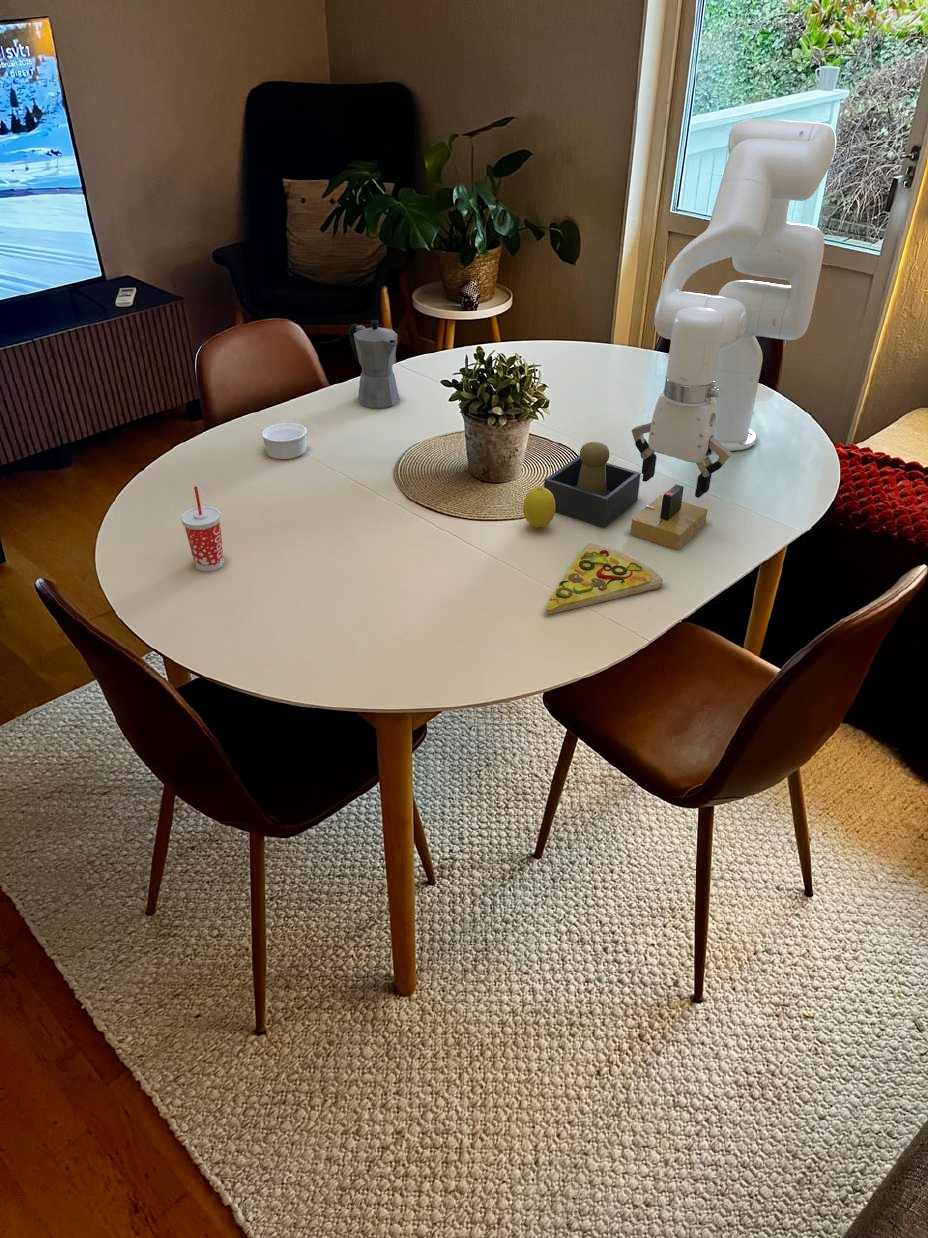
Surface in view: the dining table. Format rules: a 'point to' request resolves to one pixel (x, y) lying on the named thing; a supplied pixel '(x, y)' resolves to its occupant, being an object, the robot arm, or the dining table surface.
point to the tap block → (668, 524)
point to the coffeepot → (375, 364)
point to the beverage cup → (204, 536)
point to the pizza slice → (602, 579)
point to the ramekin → (285, 440)
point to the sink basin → (589, 504)
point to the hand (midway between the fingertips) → (673, 486)
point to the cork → (593, 468)
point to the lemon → (539, 507)
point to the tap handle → (671, 502)
